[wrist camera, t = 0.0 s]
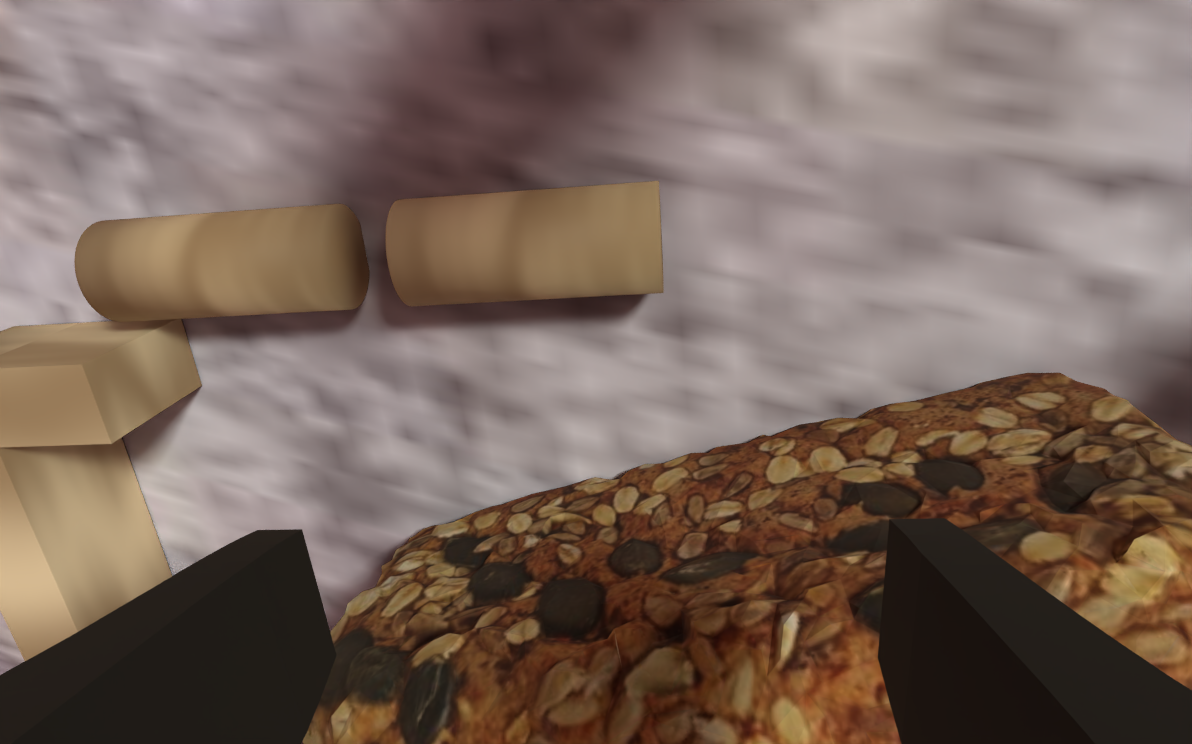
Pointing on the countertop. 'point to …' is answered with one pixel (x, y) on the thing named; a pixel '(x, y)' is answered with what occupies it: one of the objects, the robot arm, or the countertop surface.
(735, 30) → the countertop surface
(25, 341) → the stop rail
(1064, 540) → the bread
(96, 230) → the dowel
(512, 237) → the dowel
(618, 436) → the countertop surface
